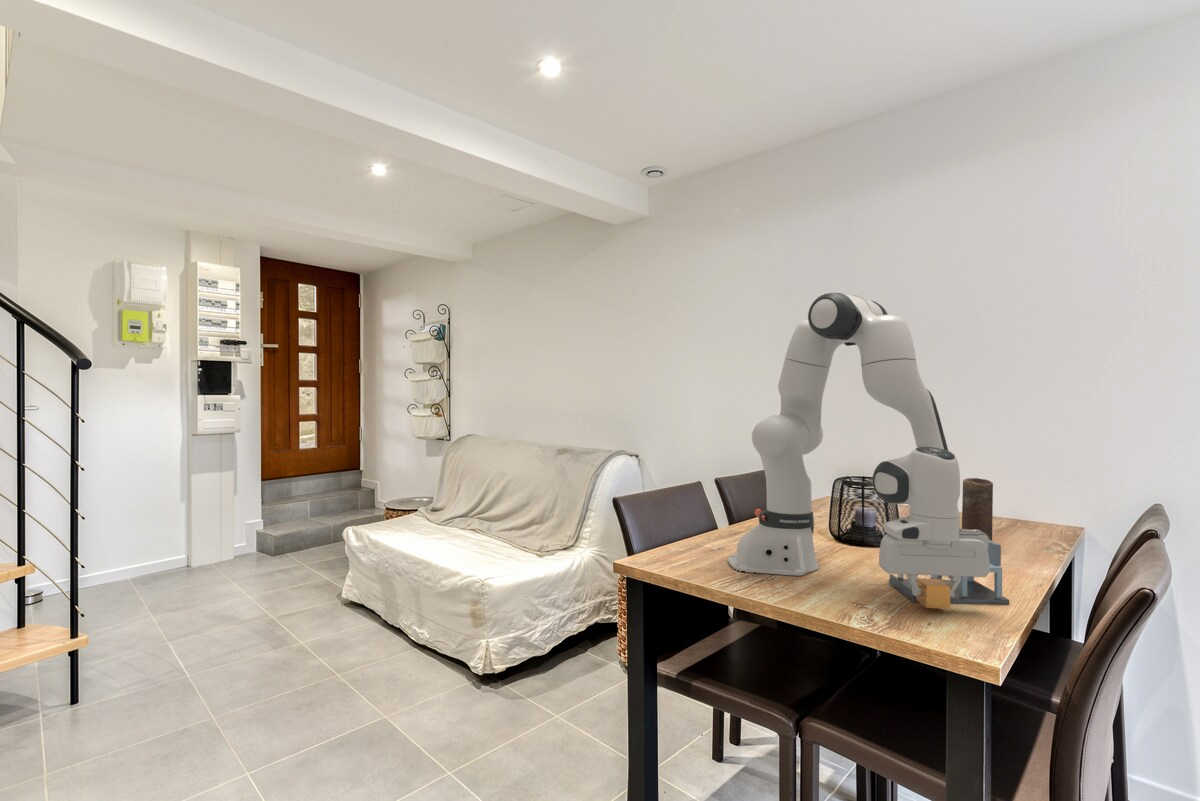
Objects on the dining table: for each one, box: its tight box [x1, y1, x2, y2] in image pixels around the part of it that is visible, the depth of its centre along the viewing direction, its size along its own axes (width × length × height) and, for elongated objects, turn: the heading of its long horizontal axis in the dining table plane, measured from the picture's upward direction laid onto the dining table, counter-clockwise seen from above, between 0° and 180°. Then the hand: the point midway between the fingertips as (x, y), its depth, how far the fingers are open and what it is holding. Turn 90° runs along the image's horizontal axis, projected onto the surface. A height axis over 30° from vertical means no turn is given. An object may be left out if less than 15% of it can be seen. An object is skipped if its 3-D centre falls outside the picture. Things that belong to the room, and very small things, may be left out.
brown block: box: [916, 577, 951, 610], centre depth 118 cm, size 4×4×4 cm
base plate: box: [888, 574, 1010, 606], centre depth 129 cm, size 19×13×4 cm
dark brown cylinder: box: [961, 477, 994, 541], centre depth 164 cm, size 8×7×20 cm
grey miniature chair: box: [937, 540, 1003, 597], centre depth 128 cm, size 8×12×11 cm
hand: (932, 596), depth 118 cm, fingers closed on brown block, 4 cm apart
